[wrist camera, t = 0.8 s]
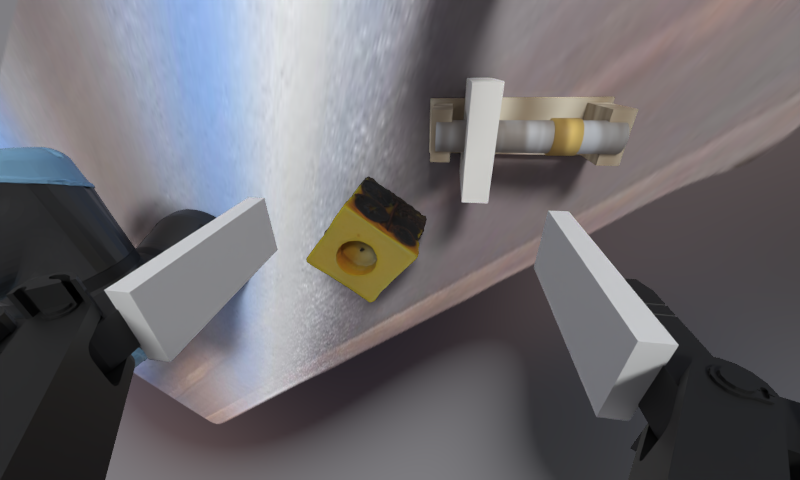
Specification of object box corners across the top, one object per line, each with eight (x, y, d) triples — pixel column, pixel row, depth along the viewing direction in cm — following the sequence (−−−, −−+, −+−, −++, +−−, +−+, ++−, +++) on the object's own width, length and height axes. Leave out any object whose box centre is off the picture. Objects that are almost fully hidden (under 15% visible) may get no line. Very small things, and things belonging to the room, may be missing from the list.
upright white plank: (459, 170, 37) (461, 202, 28) (466, 77, 32) (472, 81, 23) (479, 171, 36) (487, 203, 28) (490, 77, 31) (504, 81, 23)
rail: (429, 151, 37) (424, 170, 30) (430, 98, 34) (425, 105, 27) (594, 154, 34) (628, 175, 28) (612, 96, 31) (654, 104, 25)
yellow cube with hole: (428, 217, 42) (422, 256, 33) (387, 262, 46) (373, 306, 38) (367, 172, 40) (344, 201, 31) (332, 224, 45) (303, 262, 36)
